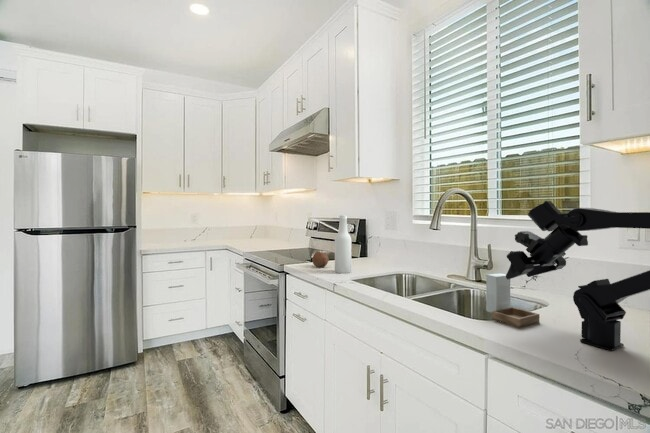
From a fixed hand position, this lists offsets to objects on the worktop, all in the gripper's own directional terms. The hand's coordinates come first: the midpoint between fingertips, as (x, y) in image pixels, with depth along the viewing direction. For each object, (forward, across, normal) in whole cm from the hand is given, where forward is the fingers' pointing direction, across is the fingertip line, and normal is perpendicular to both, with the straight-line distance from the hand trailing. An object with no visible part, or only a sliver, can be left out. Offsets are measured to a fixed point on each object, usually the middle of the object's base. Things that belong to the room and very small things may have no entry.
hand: (517, 276), depth 101 cm
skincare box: (+14, 0, +4) cm, 14 cm away
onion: (+86, +18, -67) cm, 110 cm away
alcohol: (+72, +14, -53) cm, 90 cm away
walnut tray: (+7, +3, +10) cm, 13 cm away
